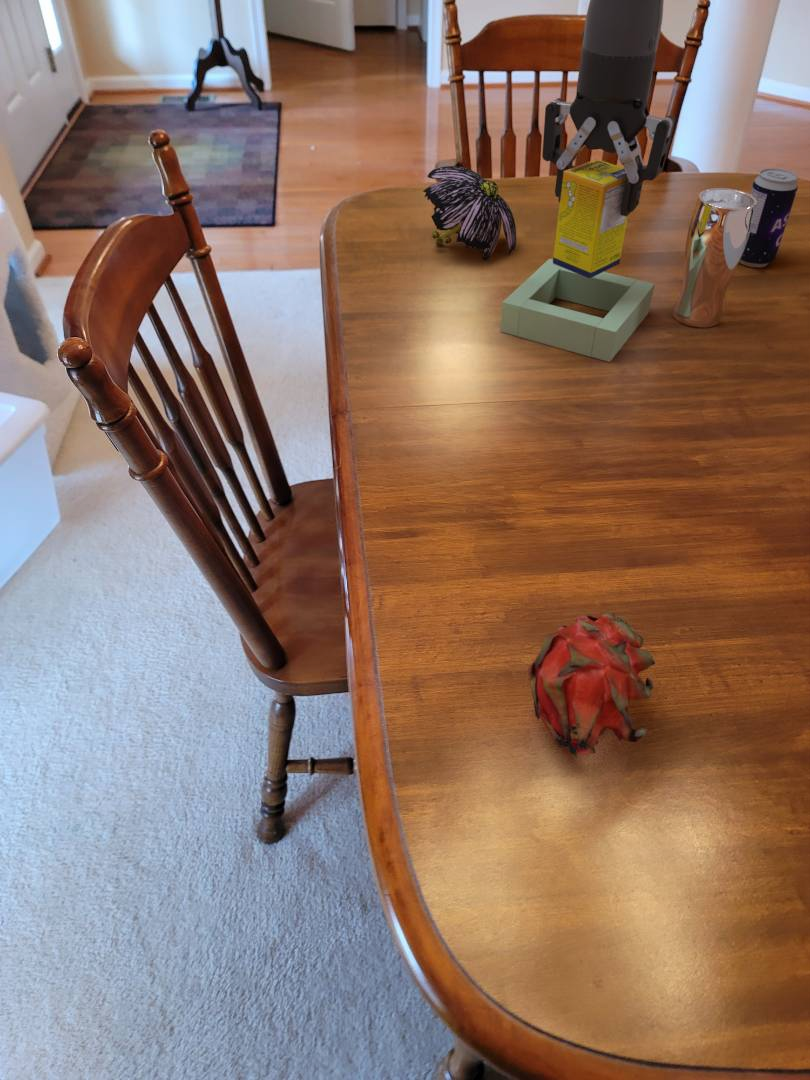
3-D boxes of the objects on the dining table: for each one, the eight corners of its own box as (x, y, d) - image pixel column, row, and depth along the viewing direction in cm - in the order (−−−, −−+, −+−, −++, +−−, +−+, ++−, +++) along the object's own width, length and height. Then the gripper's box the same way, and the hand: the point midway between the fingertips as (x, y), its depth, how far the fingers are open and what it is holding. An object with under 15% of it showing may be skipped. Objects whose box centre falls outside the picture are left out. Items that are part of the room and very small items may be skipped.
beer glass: (727, 332, 104) (762, 211, 94) (670, 327, 105) (699, 207, 95) (721, 306, 109) (754, 189, 99) (667, 301, 110) (694, 185, 100)
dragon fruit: (608, 662, 67) (568, 797, 60) (529, 602, 65) (479, 734, 58) (689, 634, 60) (655, 781, 54) (605, 566, 59) (558, 710, 52)
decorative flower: (501, 207, 108) (419, 147, 112) (461, 286, 115) (385, 227, 119) (551, 206, 119) (475, 151, 123) (512, 278, 126) (441, 224, 130)
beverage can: (762, 273, 116) (790, 185, 108) (725, 261, 119) (749, 174, 111) (780, 260, 119) (808, 174, 111) (743, 249, 122) (767, 164, 114)
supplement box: (581, 249, 104) (595, 157, 96) (620, 264, 100) (638, 171, 93) (550, 263, 101) (562, 169, 93) (589, 280, 97) (605, 184, 90)
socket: (648, 312, 108) (655, 283, 105) (609, 362, 99) (615, 331, 96) (545, 286, 113) (549, 258, 110) (499, 331, 104) (502, 301, 101)
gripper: (700, 45, 85) (665, 209, 96) (568, 28, 90) (549, 185, 101) (678, 61, 80) (644, 231, 91) (540, 42, 85) (523, 206, 96)
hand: (594, 207), depth 96 cm, fingers closed on supplement box, 7 cm apart
